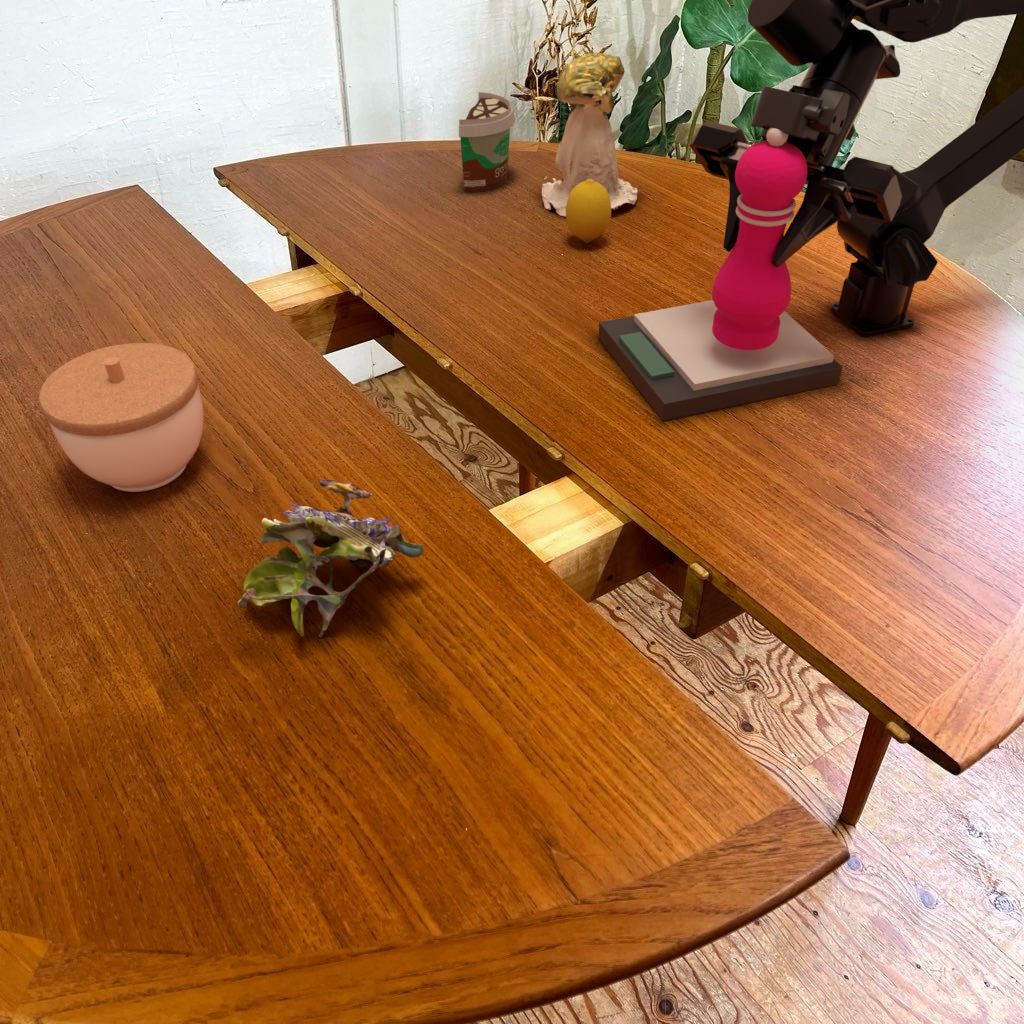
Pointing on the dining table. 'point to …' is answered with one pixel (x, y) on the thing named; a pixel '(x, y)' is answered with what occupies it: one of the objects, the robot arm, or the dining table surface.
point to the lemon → (588, 210)
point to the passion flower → (321, 554)
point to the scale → (711, 361)
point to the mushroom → (588, 132)
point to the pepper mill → (759, 245)
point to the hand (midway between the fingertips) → (749, 257)
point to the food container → (486, 143)
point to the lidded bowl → (126, 414)
